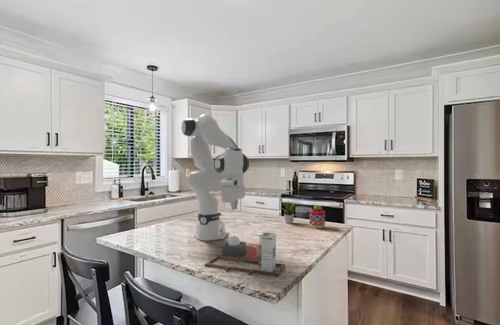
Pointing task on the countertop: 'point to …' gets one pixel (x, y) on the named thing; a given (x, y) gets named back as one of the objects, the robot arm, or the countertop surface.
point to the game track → (243, 268)
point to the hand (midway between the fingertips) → (234, 209)
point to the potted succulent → (317, 217)
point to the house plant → (289, 212)
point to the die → (252, 250)
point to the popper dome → (234, 241)
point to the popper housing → (234, 249)
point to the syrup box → (267, 252)
